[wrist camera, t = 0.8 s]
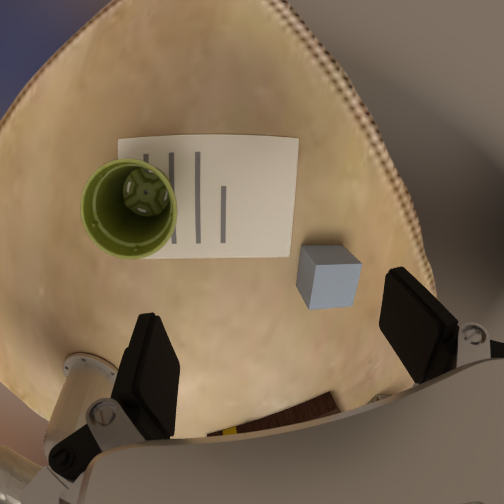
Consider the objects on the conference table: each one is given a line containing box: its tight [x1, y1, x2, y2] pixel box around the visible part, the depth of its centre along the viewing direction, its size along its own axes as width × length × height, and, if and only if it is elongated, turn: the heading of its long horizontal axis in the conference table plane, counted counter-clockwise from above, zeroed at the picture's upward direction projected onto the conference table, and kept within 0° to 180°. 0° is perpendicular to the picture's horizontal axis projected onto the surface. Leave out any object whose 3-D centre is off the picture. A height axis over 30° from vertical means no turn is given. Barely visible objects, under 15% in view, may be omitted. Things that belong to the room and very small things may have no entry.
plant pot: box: [80, 158, 177, 260], centre depth 27 cm, size 9×9×9 cm
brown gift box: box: [207, 391, 339, 437], centre depth 54 cm, size 28×7×30 cm
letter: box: [118, 134, 299, 259], centre depth 32 cm, size 15×21×1 cm
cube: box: [296, 245, 362, 310], centre depth 35 cm, size 6×6×6 cm
